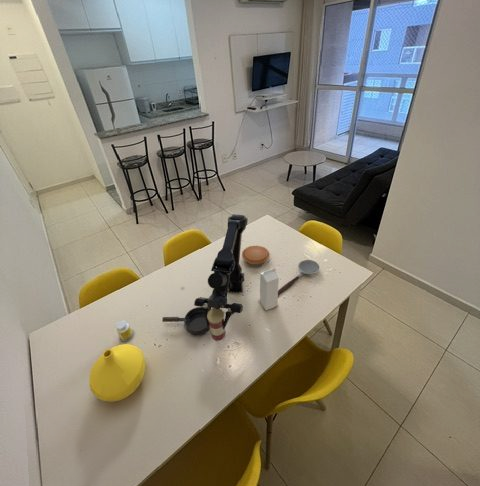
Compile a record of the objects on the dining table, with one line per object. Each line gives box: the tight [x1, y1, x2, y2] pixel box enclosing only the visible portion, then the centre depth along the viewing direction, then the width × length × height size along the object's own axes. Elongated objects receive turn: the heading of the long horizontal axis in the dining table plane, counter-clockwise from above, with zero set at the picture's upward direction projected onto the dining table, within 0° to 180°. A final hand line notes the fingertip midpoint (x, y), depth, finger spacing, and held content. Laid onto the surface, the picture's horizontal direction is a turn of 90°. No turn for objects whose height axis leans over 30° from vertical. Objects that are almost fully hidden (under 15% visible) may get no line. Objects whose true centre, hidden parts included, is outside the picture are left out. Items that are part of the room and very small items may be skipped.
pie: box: [241, 245, 270, 267], centre depth 146 cm, size 16×16×5 cm
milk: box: [259, 267, 280, 311], centre depth 115 cm, size 6×6×22 cm
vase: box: [89, 343, 147, 402], centre depth 90 cm, size 18×18×19 cm
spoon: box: [278, 259, 320, 296], centre depth 132 cm, size 11×33×3 cm, turn 129°
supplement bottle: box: [115, 319, 134, 342], centre depth 108 cm, size 5×5×8 cm
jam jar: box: [207, 308, 227, 342], centre depth 102 cm, size 6×6×13 cm
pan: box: [183, 306, 210, 337], centre depth 113 cm, size 12×12×4 cm
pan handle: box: [162, 316, 185, 323], centre depth 112 cm, size 10×2×2 cm, turn 89°
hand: (215, 327), depth 101 cm, fingers closed on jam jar, 6 cm apart
